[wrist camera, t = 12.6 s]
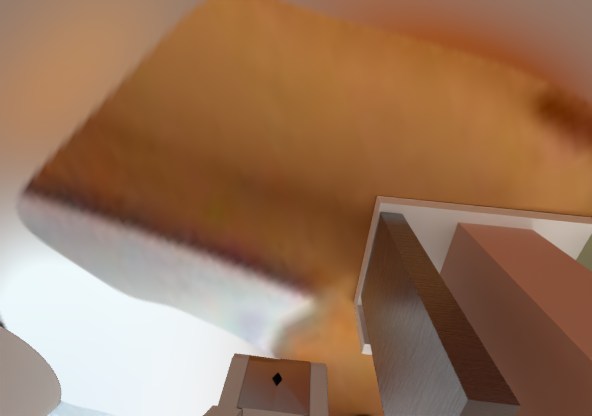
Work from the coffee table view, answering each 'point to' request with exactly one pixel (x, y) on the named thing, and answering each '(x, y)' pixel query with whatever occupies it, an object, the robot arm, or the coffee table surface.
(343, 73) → the coffee table surface
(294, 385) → the robot arm
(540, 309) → the tall salmon box
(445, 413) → the bookend
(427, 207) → the shelf
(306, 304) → the coffee table surface
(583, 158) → the coffee table surface
